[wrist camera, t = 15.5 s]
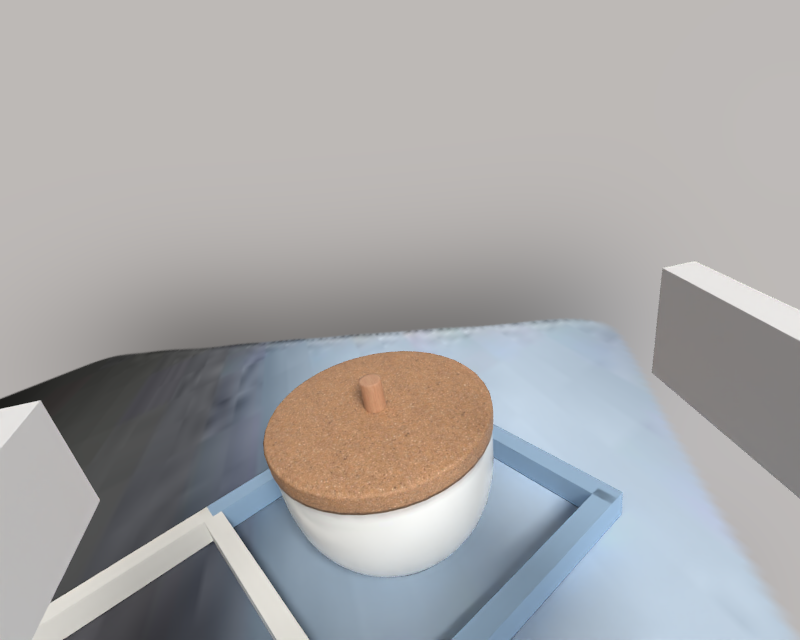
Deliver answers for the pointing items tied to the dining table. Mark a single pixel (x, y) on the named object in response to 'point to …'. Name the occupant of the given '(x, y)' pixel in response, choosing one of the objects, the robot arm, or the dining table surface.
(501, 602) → the blue bezel
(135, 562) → the white square frame
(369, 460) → the lidded jar
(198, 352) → the dining table surface
